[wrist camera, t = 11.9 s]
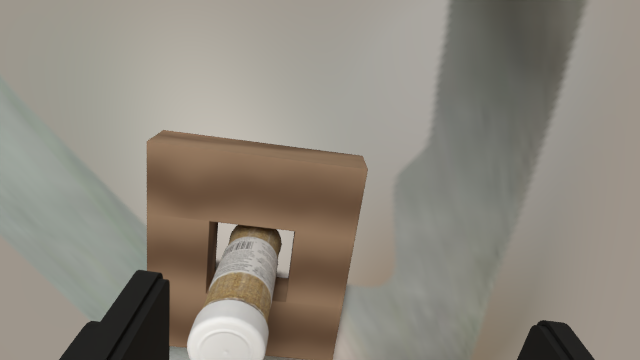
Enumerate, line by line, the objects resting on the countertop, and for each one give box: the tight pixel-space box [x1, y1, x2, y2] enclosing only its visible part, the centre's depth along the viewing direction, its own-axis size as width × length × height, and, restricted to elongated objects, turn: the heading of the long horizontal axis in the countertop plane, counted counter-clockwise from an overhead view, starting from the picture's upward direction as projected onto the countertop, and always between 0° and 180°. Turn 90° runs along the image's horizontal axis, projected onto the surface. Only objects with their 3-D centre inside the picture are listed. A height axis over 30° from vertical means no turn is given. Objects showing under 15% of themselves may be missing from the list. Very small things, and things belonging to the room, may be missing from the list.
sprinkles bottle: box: [187, 225, 282, 360], centre depth 30 cm, size 5×5×14 cm
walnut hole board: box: [147, 130, 368, 360], centre depth 35 cm, size 18×16×4 cm
